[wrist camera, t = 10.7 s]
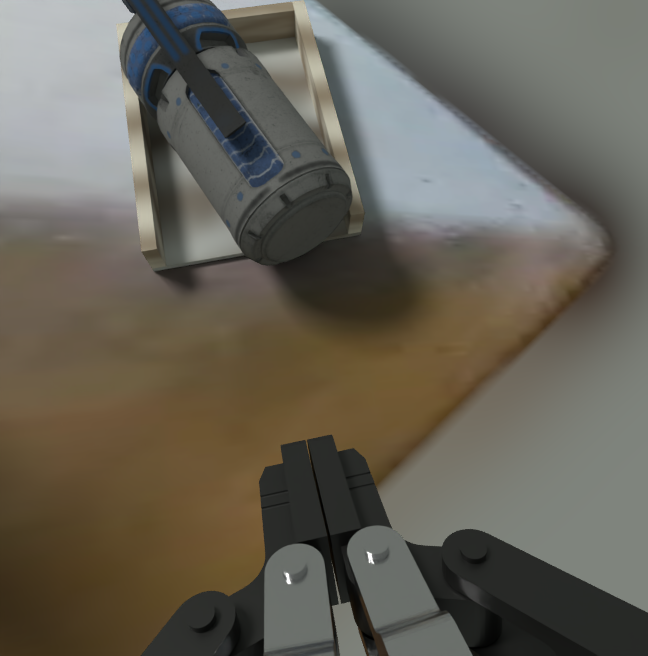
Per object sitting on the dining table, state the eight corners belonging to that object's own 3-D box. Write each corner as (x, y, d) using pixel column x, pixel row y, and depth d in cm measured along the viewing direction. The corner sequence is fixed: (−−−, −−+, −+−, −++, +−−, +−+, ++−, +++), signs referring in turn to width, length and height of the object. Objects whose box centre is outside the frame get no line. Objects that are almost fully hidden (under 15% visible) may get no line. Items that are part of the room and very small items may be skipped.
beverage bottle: (216, 238, 33) (51, -11, 39) (275, 287, 46) (144, 93, 52) (345, 142, 32) (157, -96, 39) (368, 219, 45) (224, 31, 51)
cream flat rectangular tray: (360, 234, 46) (364, 213, 43) (153, 271, 45) (141, 251, 41) (304, 31, 55) (303, 0, 52) (128, 54, 53) (116, 24, 50)
